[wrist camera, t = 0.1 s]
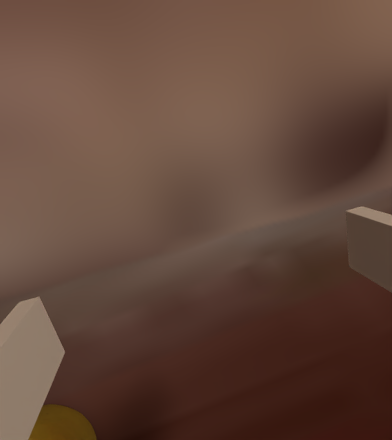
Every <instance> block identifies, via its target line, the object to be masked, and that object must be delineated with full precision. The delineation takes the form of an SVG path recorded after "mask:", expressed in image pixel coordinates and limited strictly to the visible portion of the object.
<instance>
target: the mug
mask: <svg viewBox="0 0 392 440" xmlns="http://www.w3.org/2000/svg"><path fill="white" fill-rule="evenodd" d="M28 440H97V439H96V435H95V432H94V430H93V427H92V426H91V424H90V423H89V421H88V420H87V419H86V418H85V417H84V416H83V415H82V414H81V413H80V412H78V411H76V410H74V409H72V408H69V407H66V406H62V405H54V404H49V405H43V406H42V408H41V410H40V413H39V415H38V418H37V420H36V422H35V425H34V427H33V430H32V432H31V434H30V437H29V439H28Z"/></svg>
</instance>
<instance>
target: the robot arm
mask: <svg viewBox="0 0 392 440" xmlns="http://www.w3.org/2000/svg"><path fill="white" fill-rule="evenodd" d="M346 223H347V240H348V256H349V267H350V268H352V269H354V270H355V271H357V272H359V273H360V274H362V275H364V276H365V277H367V278H369V279H370V280H372V281H374V282H375V283H377V284H379V285H380V286H382V287H383V288H385V289H387V290H388V291H390V292H392V215H390V214H386V213H383V212H379V211H376V210H372V209H369V208H365V207H358V208H355V209H351V210H347V211H346ZM64 353H65V351H64V349H63V347H62V345H61V342H60V340H59V338H58V336H57V334H56V332H55V330H54V327H53V325H52V323H51V321H50V319H49V317H48V315H47V312H46V310H45V308H44V306H43V304H42V302H41V300H40V297H36V298H33V299H29V300H26V301H22V302H19V303H18V304H17V305H16V307H15V308H14V309H13V310H12V311H11V312H10V314H9V315H8V316H7V317H6V318H5V319H4V321H3V322H2V323H1V324H0V440H28V439H29V437H30V434H31V432H32V430H33V427H34V425H35V422H36V420H37V418H38V415H39V413H40V410H41V408H42V406H43V403H44V401H45V399H46V396H47V394H48V391H49V389H50V387H51V384H52V382H53V380H54V377H55V375H56V372H57V370H58V368H59V365H60V363H61V361H62V358H63V356H64Z"/></svg>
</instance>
